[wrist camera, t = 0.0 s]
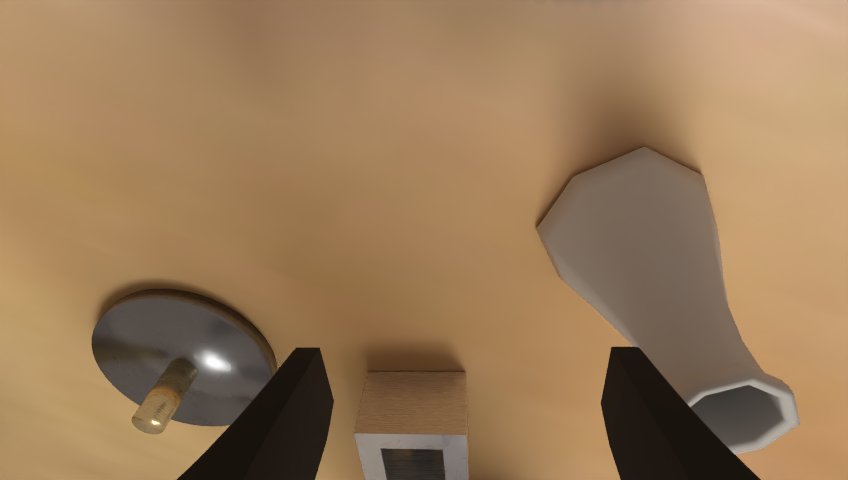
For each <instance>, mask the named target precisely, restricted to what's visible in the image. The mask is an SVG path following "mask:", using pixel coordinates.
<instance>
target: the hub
mask: <svg viewBox="0 0 848 480" xmlns="http://www.w3.org/2000/svg"><path fill="white" fill-rule="evenodd" d="M92 350H93V354H94V357H95V360H96V362H97V364H98V366H99V368H100V370H101V371H102V372H103V374H104V375H105V377H106V378H107V379H108V380H109V381H110V382H111V383H112V385H113V386H115V387H116V388H117V389H118V390H119V391H120V392H121V393H122V394H124V395H125V396H126V397H128V398H129V399H130V400H132V401H133V402H135V403H137V404H138V405H140V407H139V409H138V410H137V411H136V413H135V414H134V416H133V417H132V423H133V425H134V426H135V427H136V428H138V429H139V430H141V431H143V432H145V433H149V434H159V433H161V432H163V431H164V429H165V427H166V426H167V424H168V422H169V421H170V419H172V420H175V421H178V422H183V423H187V424H193V425H200V426H225V425H231V424H232V423H233V422H234V421H235V420H236V419H237V418H238V416H239V415H240V414H241V413H242V412H243V411H244V409H245V408H246V407H247V406H248V405H249V404H250V403H251V401H252V400H253V399H254V398H255V397H256V396H257V394H258V393H259V392H260V391H261V390H262V388H263V387H264V386H265V385H266V384H267V382H268V381H269V380H270V379H271V378H272V376H273V375H274V374H275V373H276V371H277V364H276V360H275V356H274V354H273V352H272V349H271V347H270V346H269V344H268V343H267V341H266V340H265V338H264V337H263V336H262V335H261V333H260V332H259V331H258V330H257V329H256V328H255V327H254V326H253V325H252V324H251V323H250V322H248V321H247V320H246V319H245V318H243V317H242V316H241V315H239V314H238V313H236V312H235V311H233V310H232V309H230V308H228V307H226V306H224V305H222V304H221V303H218V302H216V301H214V300H211V299H209V298H206V297H203V296H200V295H197V294H193V293H189V292H185V291H178V290H171V289H153V290H145V291H140V292H136V293H133V294H130V295H128V296H126V297H124V298H122V299H120V300H119V301H118V302H117V303H115V304H114V305H113V306H112V307H111V308H110V309H109V310H108V311H107V312H106V314H105V315H104V316H103V317H102V318H101V319H100V320H99V322H98V323H97V324H96V326H95V328H94V330H93V335H92Z"/></svg>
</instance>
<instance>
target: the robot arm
mask: <svg viewBox="0 0 848 480" xmlns="http://www.w3.org/2000/svg"><path fill="white" fill-rule="evenodd" d="M333 403H334V399H333V396H332V392H331V388H330V385H329V381H328V377H327V374H326V370H325V366H324V362H323V359H322V355H321V351H320V348H296V349H295V350H294V351H293V352H292V353H291V354H290V356H289V357H288V358H287V359H286V360H285V362H284V363H283V364H282V365H281V367H280V368H279V369H278V370H277V371H276V373H275V374H274V375H273V376H272V378H271V379H270V380H269V381H268V382H267V384H266V385H265V386H264V387H263V388H262V390H261V391H260V392H259V393H258V394H257V396H256V397H255V398H254V399H253V400H252V401H251V403H250V404H249V405H248V406H247V407H246V408H245V409H244V411H243V412H242V413H241V414H240V415H239V416H238V418H237V419H236V420H235V421H234V422H233V423H232V424H231V425H230V426H229V427H228V428H227V430H226V431H225V432H224V433H223V434H222V435H221V436H220V437H219V438H218V439H217V440H216V441H215V442H214V443H213V444H212V445H211V447H210V448H209V449H208V450H207V451H206V452H205V453H204V454H203V455H202V456H201V457H200V458H199V459H198V460H197V461H196V462H195V463H194V464H193V465H192V466H191V467H190V468H189V469H188V470H186V471H185V472H184V473H183V474H182V475H181V476H180V477H179V478H178V479H177V480H315V477H316V474H317V471H318V467H319V464H320V461H321V458H322V454H323V451H324V448H325V444H326V441H327V436H328V431H329V426H330V420H331V415H332V409H333ZM601 406H602V411H603V416H604V421H605V426H606V431H607V435H608V440H609V445H610V448H611V451H612V454H613V457H614V460H615V463H616V466H617V469H618V472H619V475H620V479H621V480H761V479H760V478H758V477H757V476H756V475H755V474H754V473H753V472H752V471H751V470H750V469H749V468H748V467H747V466H746V465H745V464H744V463H743V462H742V461H741V460H740V459H739V458H738V457H737V456H736V455H735V454H734V453H733V452H732V451H731V450H730V449H729V448H728V447H727V446H726V445H725V444H724V443H723V442H722V441H721V440H720V439H719V438H718V437H717V436H716V435H715V434H714V433H713V432H712V431H711V429H710V428H709V427H708V426H707V425H706V424H705V423H704V422H703V421H702V420H701V419H700V417H699V416H698V415H697V414H696V413H695V412H694V411H693V410H692V409H691V408H690V407H689V405H688V404H687V403H686V402H685V401H684V400H683V399H682V397H681V396H680V395H679V394H678V393H677V392H676V391H675V389H674V388H673V387H672V386H671V385H670V384H669V382H668V381H667V380H666V379H665V378H664V376H663V375H662V374H661V373H660V372H659V370H658V369H657V368H656V367H655V366H654V364H653V363H652V362H651V361H650V360H649V358H648V357H647V356H646V355H645V353H644V352H643V351H642V350H641V349H640V348H639V347H611V353H610V358H609V363H608V368H607V374H606V379H605V384H604V389H603V395H602V400H601Z"/></svg>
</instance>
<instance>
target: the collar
mask: <svg viewBox="0 0 848 480" xmlns="http://www.w3.org/2000/svg"><path fill="white" fill-rule="evenodd" d="M354 436H355V440H356V444H357V448H358V452H359V456H360V460H361V464H362V468H363V472H364V476H365V480H469V452H468V414H467V389H466V372H367V376H366V381H365V385H364V390H363V394H362V399H361V403H360V408H359V412H358V417H357V421H356V426H355V430H354Z"/></svg>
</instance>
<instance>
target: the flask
mask: <svg viewBox="0 0 848 480" xmlns="http://www.w3.org/2000/svg"><path fill="white" fill-rule="evenodd" d="M536 230H537V232H538V234H539V236H540V238H541V240H542V243H543V245H544V247H545V249H546V251H547V253H548V255H549V257H550V259H551V261H552V263H553V265H554V267H555V269H556V271H557V273H558V276H559V277H560V278H561V279H562V280H563V281H564V282H565V283H566V284H567V285H569V286H570V287H571V288H572V289H573V290H574V291H575V292H577V293H578V294H579V295H580V296H581V297H582V298H583V299H585V300H586V301H587V302H588V303H589V304H590V305H591V306H593V307H594V308H595V309H596V310H597V311H598V312H599V313H600V314H601V315H602V316H603V317H604V318H605V319H606V320H607V321H608V322H609V323H610V324H611V325H612V326H614V327H615V328H616V329H617V330H618V331H619V332H620V333H621V334H622V335H623V336H624V337H625V338H626V339H627V340H628V341H629V342H630V343H631V344H632V345H633V346H634V347H639V348H640V349H641V350H642V351H643V352H644V353H645V355H646V356H647V357H648V358H649V360H650V361H651V362H652V363H653V364H654V366H655V367H656V368H657V369H658V370H659V372H660V373H661V374H662V375H663V376H664V378H665V379H666V380H667V381H668V382H669V384H670V385H671V386H672V387H673V388H674V389H675V391H676V392H677V393H678V394H679V395H680V396H681V397H682V399H683V400H684V401H685V402H686V403H687V404H688V405H689V407H690V408H691V409H692V410H693V411H694V412H695V413H696V414H697V415H698V416H699V417H700V419H701V420H702V421H703V422H704V423H705V424H706V425H707V426H708V427H709V428H710V429H711V431H712V432H713V433H714V434H715V435H716V436H717V437H718V438H719V439H720V440H721V441H722V442H723V443H724V444H725V445H726V446H727V447H728V448H729V449H730V450H731V451H732V452H733V453H734V454H735V455H736V454H740V453H745V452H750V451H754V450H759V449H763V448H764V447H766V446H767V445H769V444H770V443H772V442H773V441H775V440H776V439H778V438H779V437H781V436H782V435H784V434H785V433H787V432H788V431H790V430H791V429H793V428H794V427H796V426H797V425H799V424H800V421H799V417H798V412H797V407H796V402H795V397H794V394H793V392H792V390H791V389H790V387H789V386H788V385H787V384H785V383H784V382H783V381H782V380H780V379H778V378H775V377H773V376H771V375H768V374H766V373H764V371H763V370H762V369H761V368H760V366H759V365H758V363H757V362H756V360H755V359H754V357H753V356H752V354H751V353H750V351H749V350H748V348H747V347H746V345H745V344H744V342H743V341H742V339H741V336H740V334H739V331H738V329H737V326H736V324H735V322H734V319H733V317H732V314H731V312H730V309H729V307H728V301H727V296H726V290H725V284H724V278H723V271H722V261H721V251H720V242H719V236H718V230H717V226H716V222H715V219H714V215H713V211H712V207H711V203H710V200H709V196H708V192H707V188H706V184H705V180H704V177H703V176H702V175H700V174H699V173H697V172H695V171H693V170H691V169H689V168H687V167H685V166H683V165H681V164H679V163H677V162H675V161H673V160H671V159H669V158H667V157H665V156H663V155H661V154H659V153H657V152H655V151H653V150H651V149H649V148H647V147H645V146H644V147H642V148H639V149H637V150H634V151H632V152H630V153H627V154H625V155H623V156H620V157H618V158H616V159H613V160H611V161H608V162H606V163H604V164H601V165H599V166H597V167H594V168H592V169H590V170H587V171H585V172H582V173H580V174H578V175H575V176H573V178H572V179H571V180H570V182H569V183H568V185H567V186H566V188H565V189H564V190H563V192H562V193H561V195H560V196H559V198H558V199H557V200H556V202H555V203H554V205H553V206H552V207H551V209H550V210H549V212H548V213H547V215H546V216H545V217H544V219H543V220H542V222H541V223H540V225H539V226H538V227H537V229H536Z"/></svg>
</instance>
